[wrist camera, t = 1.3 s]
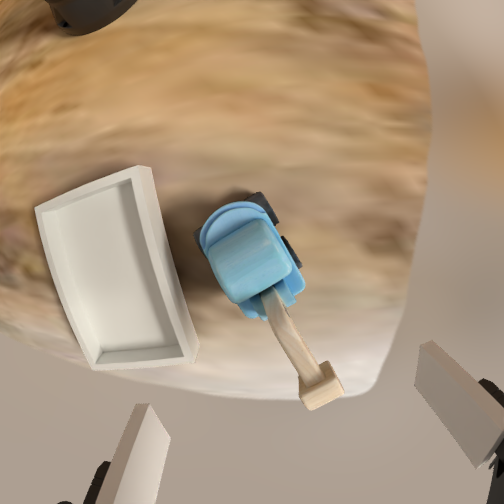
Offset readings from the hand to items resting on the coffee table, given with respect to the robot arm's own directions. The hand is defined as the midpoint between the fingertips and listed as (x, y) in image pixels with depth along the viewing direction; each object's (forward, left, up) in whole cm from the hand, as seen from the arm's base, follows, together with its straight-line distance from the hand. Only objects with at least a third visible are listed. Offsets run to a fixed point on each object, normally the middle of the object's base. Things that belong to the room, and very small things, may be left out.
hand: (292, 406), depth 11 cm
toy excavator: (0, 0, -22) cm, 22 cm away
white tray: (-3, -17, -22) cm, 28 cm away
